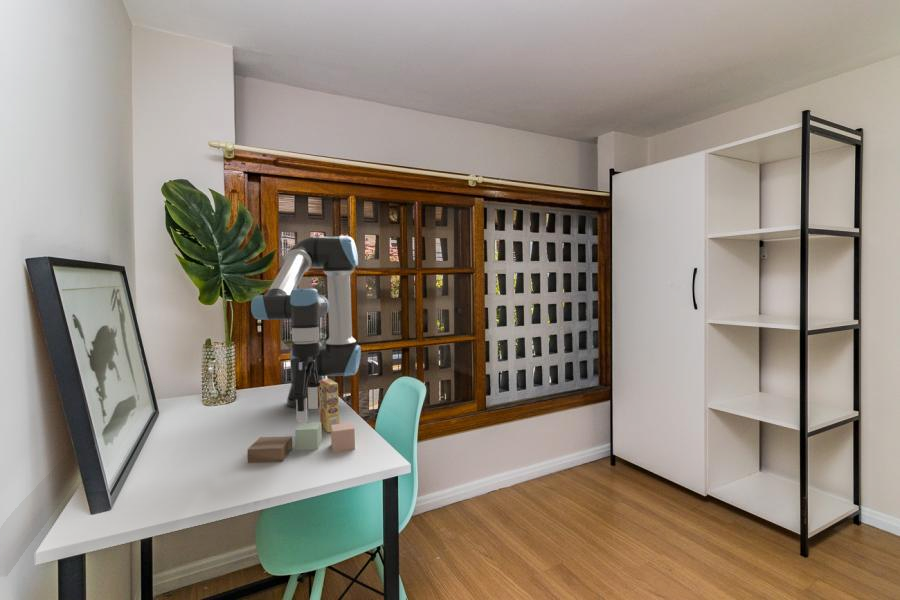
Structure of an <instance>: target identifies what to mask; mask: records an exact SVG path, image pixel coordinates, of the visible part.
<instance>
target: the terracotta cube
mask: <svg viewBox="0 0 900 600" xmlns="http://www.w3.org/2000/svg"><path fill="white" fill-rule="evenodd" d="M355 434H356V433H355V427H354V425H353V422H352V421H351V422H343V423H339V424H334V425H331V432H330V436H331V437H330V439H331V440H330V441H331V442H330V445H331V448H332V452H333V453H337V452H338V453H339V452H344V451H351V450H356V444H355V443H356V439H355V438H356V437H355Z"/></svg>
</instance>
